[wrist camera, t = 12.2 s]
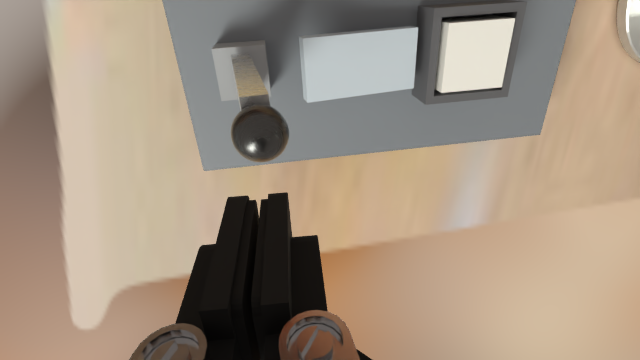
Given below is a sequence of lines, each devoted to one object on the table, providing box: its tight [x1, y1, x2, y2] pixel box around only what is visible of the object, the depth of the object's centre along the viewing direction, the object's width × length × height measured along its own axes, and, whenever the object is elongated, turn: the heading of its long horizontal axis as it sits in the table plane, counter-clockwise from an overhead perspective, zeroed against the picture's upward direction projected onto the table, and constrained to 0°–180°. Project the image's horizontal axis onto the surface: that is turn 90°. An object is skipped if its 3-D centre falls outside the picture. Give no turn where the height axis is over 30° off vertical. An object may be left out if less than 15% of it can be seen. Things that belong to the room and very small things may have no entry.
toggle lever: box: [231, 53, 289, 162], centre depth 16 cm, size 2×2×10 cm
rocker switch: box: [299, 26, 418, 103], centre depth 21 cm, size 7×4×1 cm, turn 93°
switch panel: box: [162, 0, 576, 171], centre depth 24 cm, size 26×14×6 cm, turn 93°
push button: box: [435, 15, 515, 93], centre depth 22 cm, size 4×4×2 cm
